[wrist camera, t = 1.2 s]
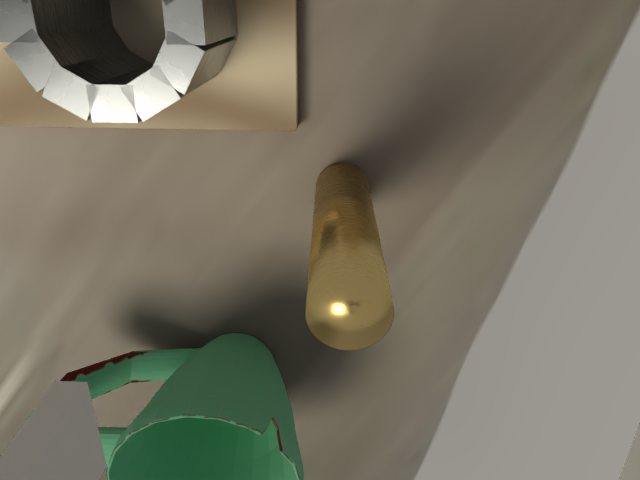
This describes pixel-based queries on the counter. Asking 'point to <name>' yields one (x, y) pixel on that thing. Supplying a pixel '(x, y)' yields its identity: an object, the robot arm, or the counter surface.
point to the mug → (200, 414)
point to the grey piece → (115, 54)
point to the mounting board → (207, 100)
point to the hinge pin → (346, 264)
